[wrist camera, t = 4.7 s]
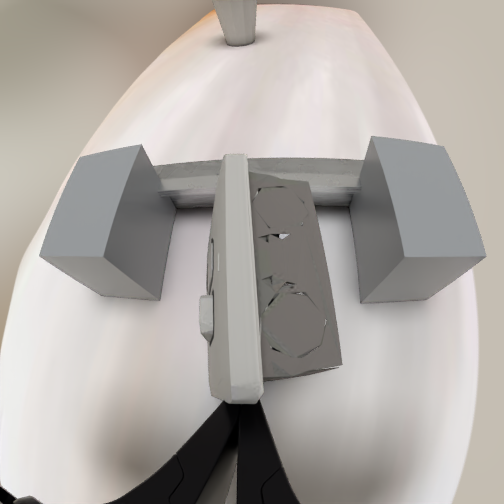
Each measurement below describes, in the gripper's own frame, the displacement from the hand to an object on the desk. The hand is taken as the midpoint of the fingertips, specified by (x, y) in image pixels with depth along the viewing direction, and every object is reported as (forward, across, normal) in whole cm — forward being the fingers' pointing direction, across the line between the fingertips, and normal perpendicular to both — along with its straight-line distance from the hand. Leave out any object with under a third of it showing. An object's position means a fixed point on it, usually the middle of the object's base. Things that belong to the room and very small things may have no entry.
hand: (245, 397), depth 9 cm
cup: (+38, +5, -28) cm, 47 cm away
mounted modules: (+11, 0, -1) cm, 11 cm away
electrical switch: (+8, +1, +2) cm, 8 cm away
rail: (+14, 0, -4) cm, 15 cm away
